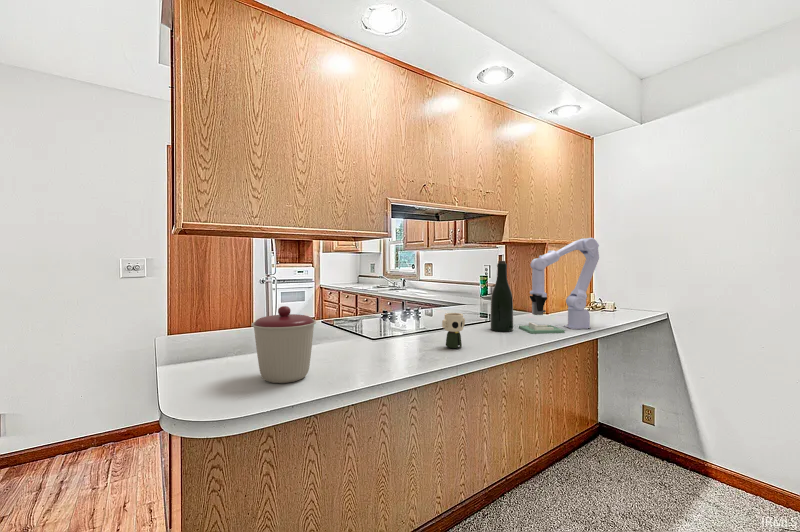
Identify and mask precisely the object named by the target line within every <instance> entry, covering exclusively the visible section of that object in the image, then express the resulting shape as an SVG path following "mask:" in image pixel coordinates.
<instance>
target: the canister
mask: <svg viewBox="0 0 800 532" xmlns="http://www.w3.org/2000/svg"><path fill="white" fill-rule="evenodd" d="M291 311H292V310H291V308H290V307H289V306H286V305H284V306H280V307H278V309H277V314H272V315H267V316H262V317H260V318H257V319H256V320H255V321H253V322H252V323H251V327H253V332H254V333H253V334H254V340H255V346H256V354H257V361H258V369H259V373H260V375H261V378H262V379H263V380H264V381H265V382H268V383H273V384H286V383H293V382H297V381H300V380H302V379H304V378H305V377H306V376H307V375H308V373H309V370H310V365H311V357H312V347H313V339H314V329H315V328H314V327H315V324H316V323H317V320H316V319H313V318H312V317H311V316H308V315H305V314H298V313H297V314H294V313H293V314H292V313H291Z"/></svg>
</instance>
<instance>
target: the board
mask: <svg viewBox="0 0 800 532" xmlns="http://www.w3.org/2000/svg"><path fill="white" fill-rule="evenodd" d="M518 329H520V330H522V331H524V332H527V333H528V334H531V335H534V334H565V331H566V330H564V329H563V328H559V327H556V326H554V325H551V324H539V325H537V324H536V323H533V322H528V325H518Z"/></svg>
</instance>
